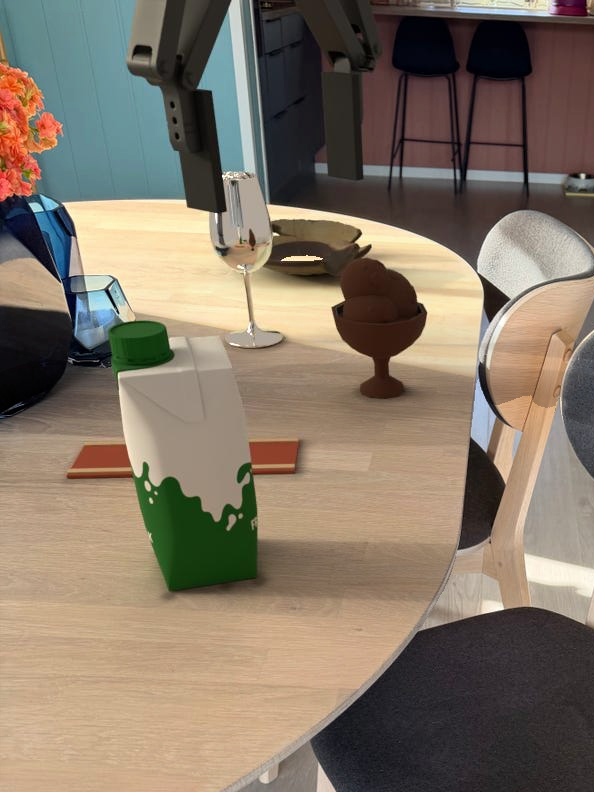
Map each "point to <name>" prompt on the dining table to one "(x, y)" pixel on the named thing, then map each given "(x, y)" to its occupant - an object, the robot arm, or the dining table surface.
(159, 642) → the dining table surface
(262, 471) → the reddish-brown flat board
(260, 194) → the wineglass
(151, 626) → the dining table surface
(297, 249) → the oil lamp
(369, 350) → the ice cream bowl
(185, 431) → the soya milk
